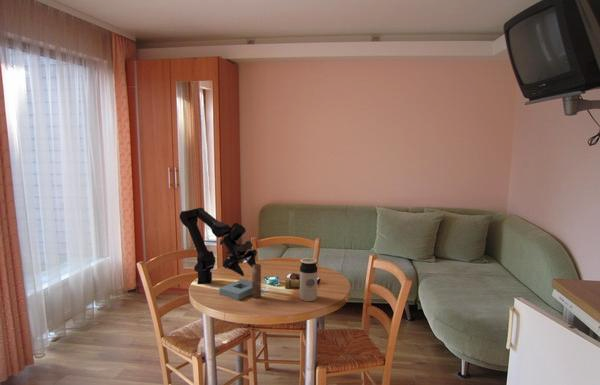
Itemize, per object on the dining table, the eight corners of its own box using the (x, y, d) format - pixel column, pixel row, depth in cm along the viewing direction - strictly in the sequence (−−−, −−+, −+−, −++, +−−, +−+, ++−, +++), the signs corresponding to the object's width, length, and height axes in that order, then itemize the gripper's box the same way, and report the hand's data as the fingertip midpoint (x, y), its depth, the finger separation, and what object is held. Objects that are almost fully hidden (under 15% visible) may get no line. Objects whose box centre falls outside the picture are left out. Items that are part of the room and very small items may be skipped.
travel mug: (299, 294, 178) (300, 257, 176) (316, 295, 178) (317, 258, 176) (299, 301, 170) (299, 262, 168) (316, 302, 170) (317, 263, 168)
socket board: (219, 294, 178) (219, 288, 177) (242, 284, 191) (242, 279, 191) (238, 300, 171) (238, 293, 171) (261, 289, 184) (261, 283, 184)
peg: (252, 298, 173) (252, 266, 172) (252, 295, 177) (252, 264, 176) (261, 298, 174) (261, 266, 172) (260, 294, 178) (260, 263, 176)
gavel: (284, 270, 207) (302, 269, 207) (284, 278, 207) (302, 278, 207) (285, 280, 186) (305, 280, 186) (285, 289, 186) (305, 289, 186)
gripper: (227, 239, 170) (245, 268, 165) (254, 232, 185) (272, 258, 180) (215, 254, 175) (232, 282, 170) (242, 246, 191) (259, 271, 186)
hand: (250, 272), depth 176 cm, fingers open, 9 cm apart
